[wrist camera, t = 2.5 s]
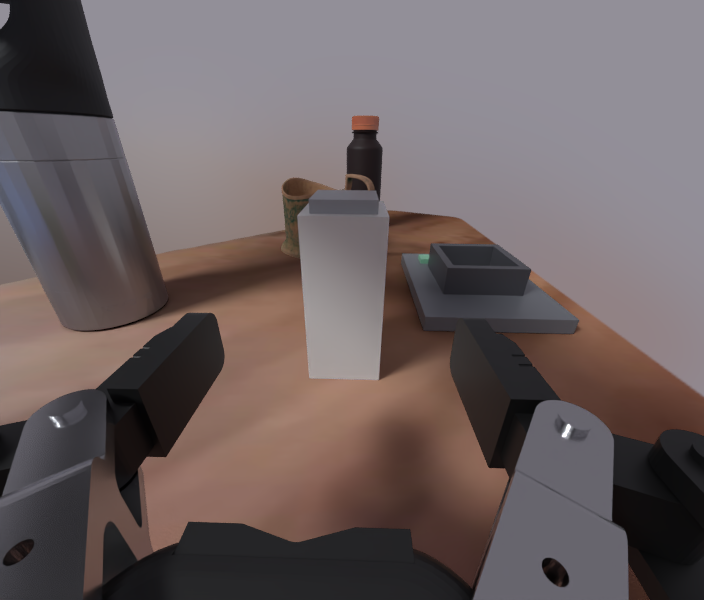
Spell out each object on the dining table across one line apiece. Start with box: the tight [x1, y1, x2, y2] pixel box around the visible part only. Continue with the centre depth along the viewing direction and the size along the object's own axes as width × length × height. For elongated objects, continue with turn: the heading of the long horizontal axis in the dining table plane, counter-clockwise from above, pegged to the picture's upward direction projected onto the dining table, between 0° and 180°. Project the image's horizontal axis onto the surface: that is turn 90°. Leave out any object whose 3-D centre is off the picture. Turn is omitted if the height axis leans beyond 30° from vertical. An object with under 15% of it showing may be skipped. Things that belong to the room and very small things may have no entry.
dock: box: [401, 244, 579, 334], centre depth 35 cm, size 18×14×4 cm
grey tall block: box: [297, 190, 389, 380], centre depth 22 cm, size 5×5×13 cm
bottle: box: [347, 116, 382, 201], centre depth 59 cm, size 7×7×20 cm
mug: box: [281, 174, 375, 258], centre depth 46 cm, size 12×18×12 cm, turn 47°
